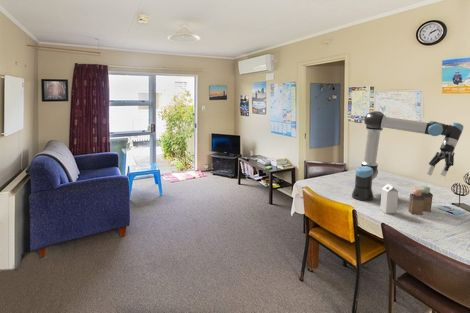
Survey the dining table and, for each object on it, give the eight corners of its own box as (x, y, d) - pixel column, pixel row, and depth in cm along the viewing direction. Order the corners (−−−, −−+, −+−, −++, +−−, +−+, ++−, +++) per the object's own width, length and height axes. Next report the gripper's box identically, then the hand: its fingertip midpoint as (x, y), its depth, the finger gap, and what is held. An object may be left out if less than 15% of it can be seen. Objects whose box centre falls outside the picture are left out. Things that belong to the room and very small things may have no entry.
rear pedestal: (416, 207, 199) (418, 191, 197) (427, 208, 197) (429, 191, 195) (419, 211, 193) (421, 194, 190) (430, 212, 191) (432, 194, 189)
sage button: (420, 192, 196) (420, 186, 195) (428, 192, 194) (428, 186, 194) (422, 194, 191) (423, 188, 190) (430, 194, 190) (431, 188, 189)
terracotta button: (412, 194, 191) (412, 188, 190) (419, 195, 190) (420, 189, 189) (414, 196, 186) (414, 191, 186) (422, 197, 185) (423, 191, 184)
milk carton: (390, 209, 197) (392, 182, 193) (396, 213, 190) (399, 185, 186) (380, 209, 197) (382, 182, 193) (385, 213, 190) (388, 185, 186)
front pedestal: (408, 210, 194) (410, 193, 192) (419, 211, 192) (421, 194, 190) (411, 214, 188) (413, 196, 186) (422, 215, 186) (424, 197, 184)
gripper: (468, 146, 178) (455, 178, 178) (440, 148, 203) (428, 176, 203) (457, 141, 179) (443, 173, 178) (430, 144, 204) (418, 172, 203)
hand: (435, 175), depth 191 cm, fingers open, 13 cm apart
